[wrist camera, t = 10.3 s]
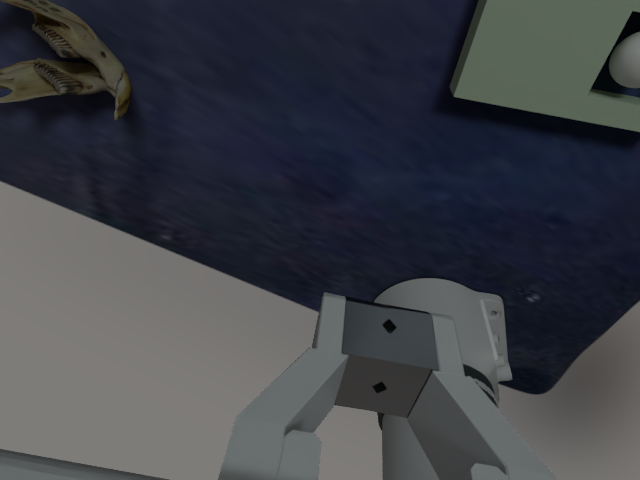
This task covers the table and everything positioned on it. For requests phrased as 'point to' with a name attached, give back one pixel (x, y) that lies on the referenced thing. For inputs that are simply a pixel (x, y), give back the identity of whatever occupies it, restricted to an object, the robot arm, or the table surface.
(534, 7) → the putting board
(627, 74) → the ball
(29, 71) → the jawbone
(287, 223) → the table surface
